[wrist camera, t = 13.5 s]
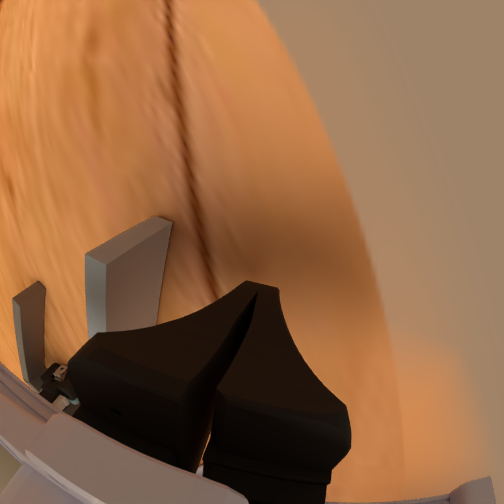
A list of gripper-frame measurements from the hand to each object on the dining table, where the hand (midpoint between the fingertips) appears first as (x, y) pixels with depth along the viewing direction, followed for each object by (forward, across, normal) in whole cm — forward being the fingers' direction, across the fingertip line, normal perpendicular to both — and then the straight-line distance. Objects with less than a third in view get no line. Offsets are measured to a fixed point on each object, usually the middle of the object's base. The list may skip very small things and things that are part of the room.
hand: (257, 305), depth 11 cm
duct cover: (+2, +6, +4) cm, 7 cm away
